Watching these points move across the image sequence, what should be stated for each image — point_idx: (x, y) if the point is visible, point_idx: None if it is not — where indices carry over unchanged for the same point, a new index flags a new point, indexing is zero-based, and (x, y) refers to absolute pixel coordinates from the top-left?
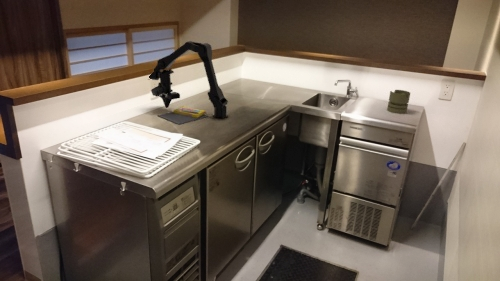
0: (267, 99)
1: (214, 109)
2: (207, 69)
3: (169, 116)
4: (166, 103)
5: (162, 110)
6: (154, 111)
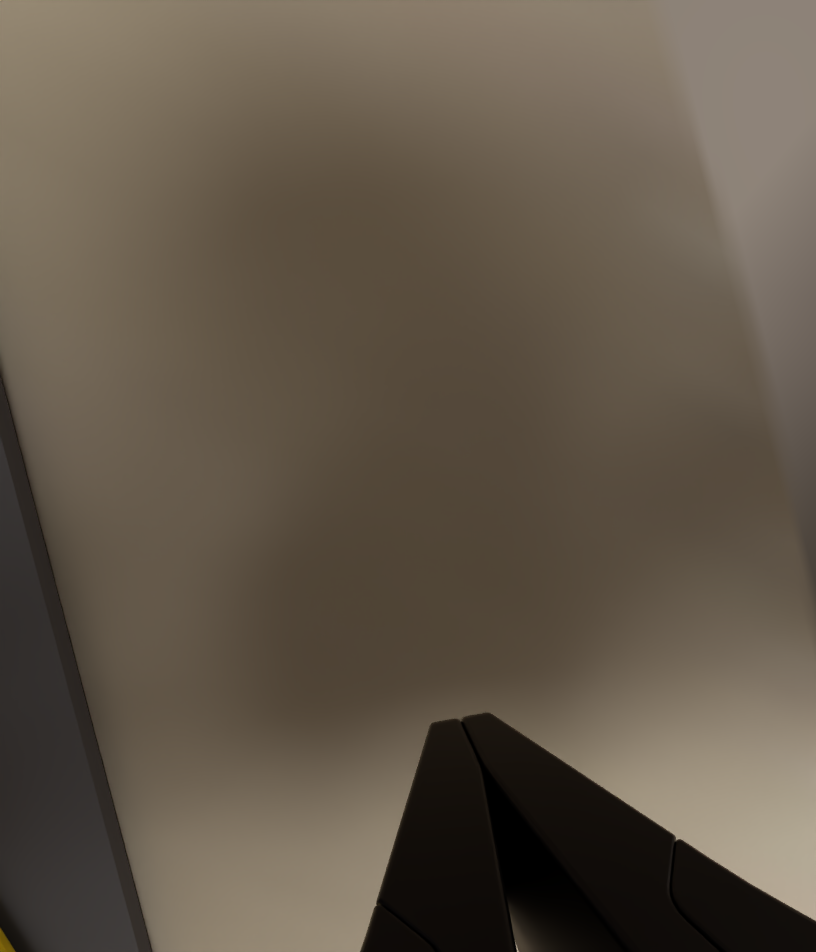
0: None
1: None
2: None
3: None
4: (384, 895)
5: (525, 557)
6: (590, 255)
